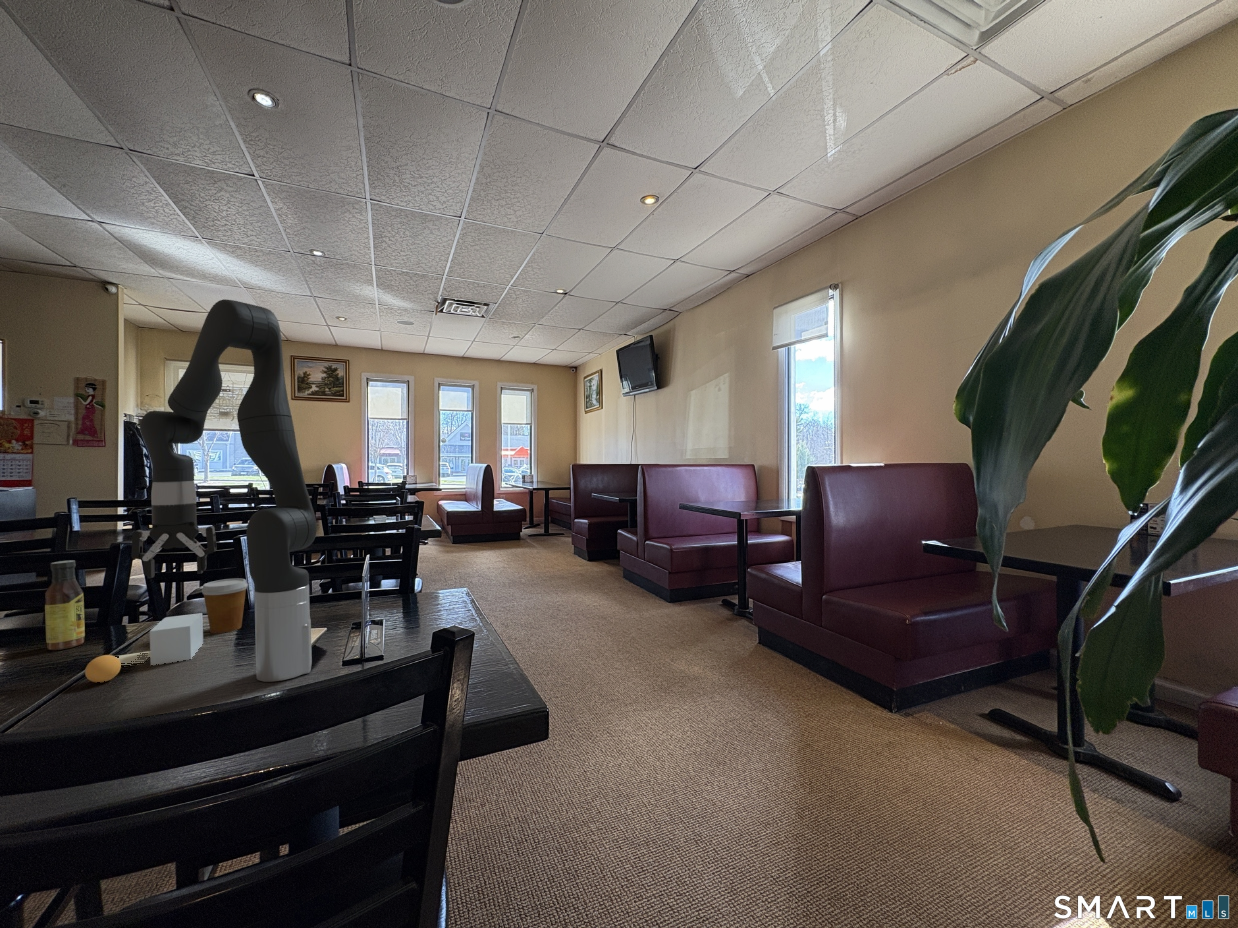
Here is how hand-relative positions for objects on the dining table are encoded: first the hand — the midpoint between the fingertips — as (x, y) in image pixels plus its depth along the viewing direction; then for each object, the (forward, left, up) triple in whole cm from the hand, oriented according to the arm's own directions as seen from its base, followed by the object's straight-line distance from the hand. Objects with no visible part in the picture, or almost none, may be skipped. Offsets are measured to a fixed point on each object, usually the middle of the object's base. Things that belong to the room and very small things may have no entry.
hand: (176, 575), depth 116 cm
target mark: (+9, -1, -18) cm, 20 cm away
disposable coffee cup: (-6, -16, -18) cm, 25 cm away
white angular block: (0, 0, -18) cm, 18 cm away
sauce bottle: (+25, -20, -18) cm, 37 cm away
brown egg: (+9, +11, -15) cm, 21 cm away
